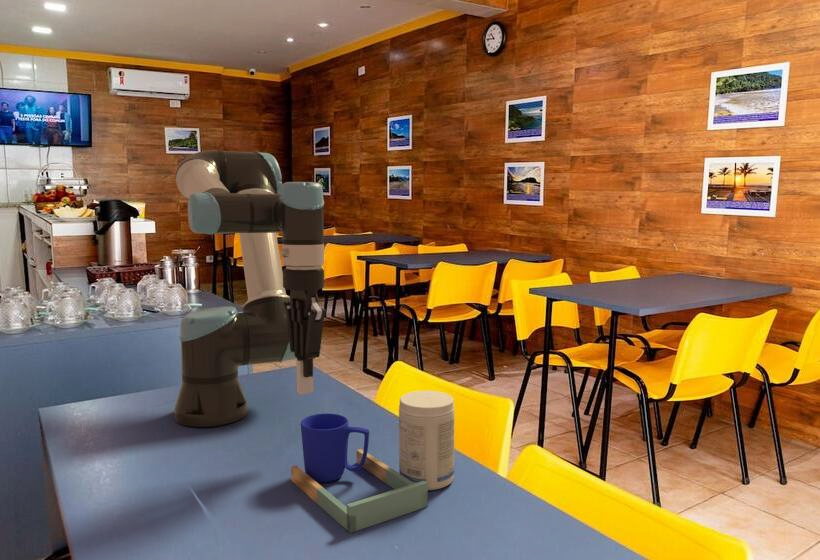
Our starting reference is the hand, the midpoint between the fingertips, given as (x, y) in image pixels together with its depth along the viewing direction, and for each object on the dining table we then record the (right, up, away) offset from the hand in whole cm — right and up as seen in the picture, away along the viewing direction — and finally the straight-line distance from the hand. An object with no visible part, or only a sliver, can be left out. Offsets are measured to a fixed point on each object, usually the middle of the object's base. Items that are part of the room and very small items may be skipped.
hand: (305, 392), depth 117 cm
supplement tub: (+22, -14, -8) cm, 28 cm away
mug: (+7, -14, -8) cm, 17 cm away
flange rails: (+8, -14, -9) cm, 18 cm away
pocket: (+14, -15, -18) cm, 27 cm away
